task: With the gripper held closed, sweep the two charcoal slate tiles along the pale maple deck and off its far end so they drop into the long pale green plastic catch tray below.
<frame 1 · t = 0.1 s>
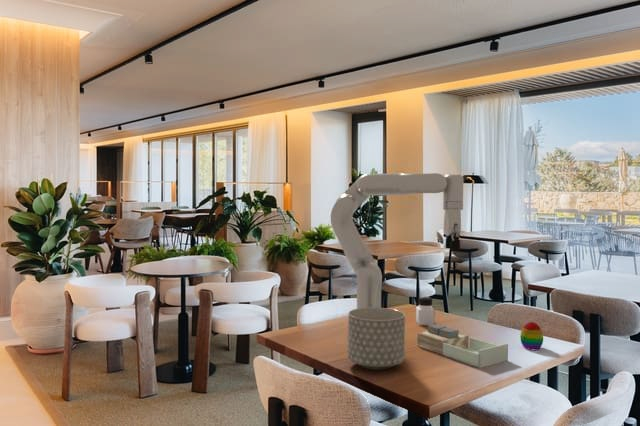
hand: (452, 249, 202), 37 cm above the table, tool pointing down, fingers open, 9 cm apart
deck: (442, 347, 198), on the table
planter: (375, 366, 175), on the table
tile rear: (437, 332, 200), point 5 cm above the table, touching deck
tray: (474, 357, 186), on the table
decorative egg: (531, 348, 199), on the table
tile front: (448, 336, 195), point 5 cm above the table, touching deck
medicine bottle: (425, 324, 235), on the table
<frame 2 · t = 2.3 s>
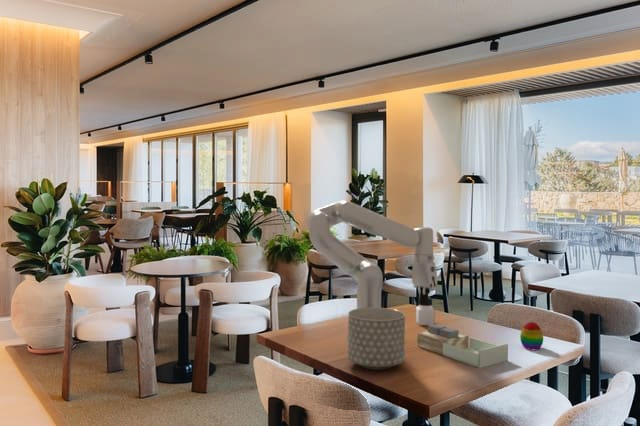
hand: (424, 303, 207), 15 cm above the table, tool pointing down, fingers closed
nothing on the table moved.
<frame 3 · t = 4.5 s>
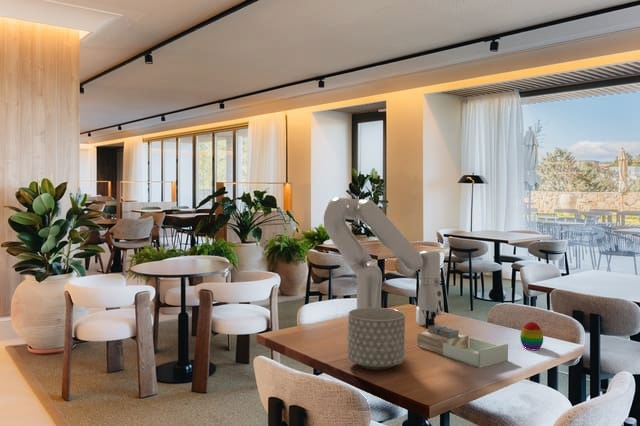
hand: (429, 327, 204), 6 cm above the table, tool pointing down, fingers closed
tile rear: (437, 332, 200), point 5 cm above the table, touching deck, gripper
everything else where it was.
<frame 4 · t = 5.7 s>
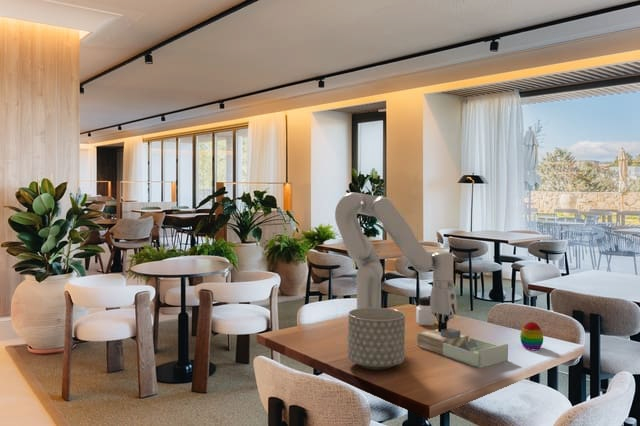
hand: (442, 331, 198), 6 cm above the table, tool pointing down, fingers closed
tile rear: (450, 336, 195), point 5 cm above the table, touching gripper
tile front: (465, 344, 188), point 4 cm above the table, tilted 140°, touching tray
everything else where it was.
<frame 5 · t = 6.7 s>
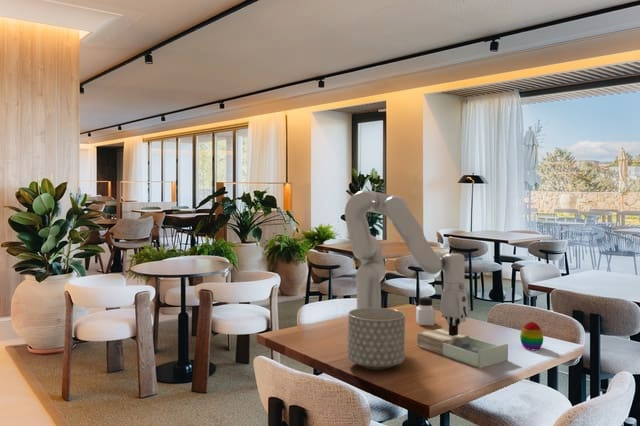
hand: (453, 335, 194), 6 cm above the table, tool pointing down, fingers closed
tile rear: (460, 342, 191), point 4 cm above the table, tilted 128°, touching tile front, tray
tile front: (470, 348, 186), point 3 cm above the table, tilted 180°, touching tile rear, tray
everything else where it was.
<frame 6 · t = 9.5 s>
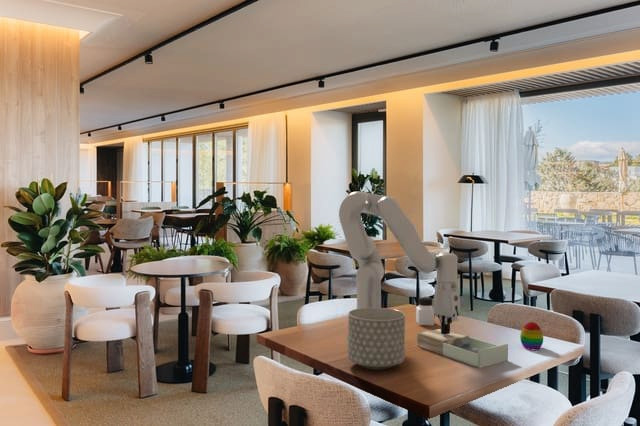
hand: (445, 333, 197), 6 cm above the table, tool pointing down, fingers closed
nothing on the table moved.
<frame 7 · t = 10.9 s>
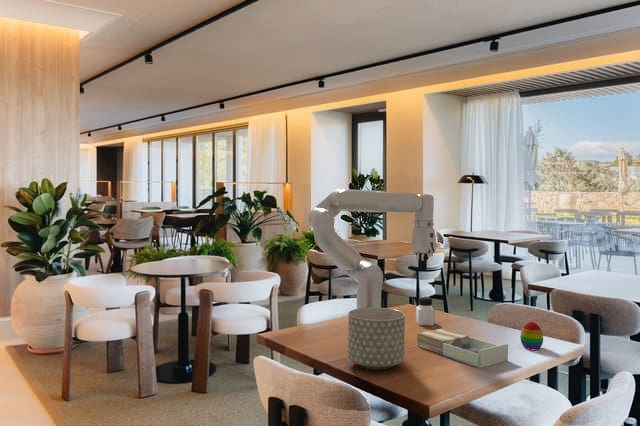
hand: (422, 269, 209), 28 cm above the table, tool pointing down, fingers closed
nothing on the table moved.
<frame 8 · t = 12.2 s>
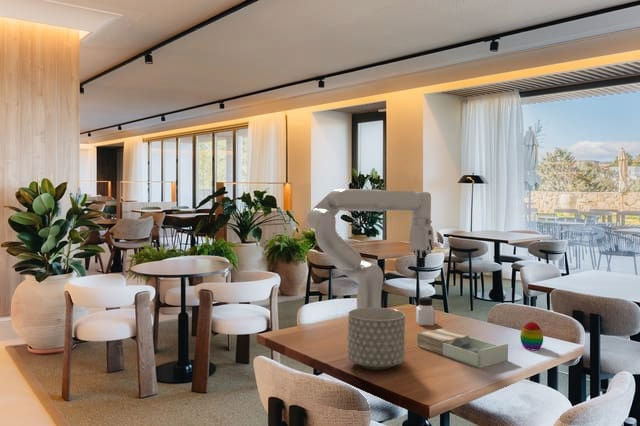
hand: (420, 267, 210), 29 cm above the table, tool pointing down, fingers closed
nothing on the table moved.
at the end: tile front inside the target area on the tray (1.3 cm from its centre), point 3.1 cm above the tray's base; tile rear inside the target area on the tray (6.4 cm from its centre), point 4.1 cm above the tray's base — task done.
